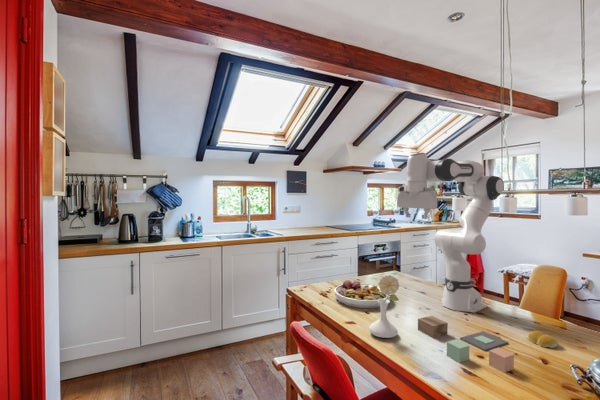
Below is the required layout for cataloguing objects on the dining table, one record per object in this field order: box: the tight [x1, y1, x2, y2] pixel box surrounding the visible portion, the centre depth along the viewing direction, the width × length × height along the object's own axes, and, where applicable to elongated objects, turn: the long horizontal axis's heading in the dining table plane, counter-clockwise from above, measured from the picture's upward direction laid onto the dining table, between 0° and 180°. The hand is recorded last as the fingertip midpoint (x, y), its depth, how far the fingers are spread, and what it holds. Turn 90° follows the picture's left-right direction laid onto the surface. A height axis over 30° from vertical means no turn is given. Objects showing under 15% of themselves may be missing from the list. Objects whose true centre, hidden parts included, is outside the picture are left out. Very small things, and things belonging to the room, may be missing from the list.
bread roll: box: [527, 330, 558, 349], centre depth 118 cm, size 8×9×4 cm
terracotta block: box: [488, 346, 515, 373], centre depth 101 cm, size 5×5×5 cm
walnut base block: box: [417, 315, 449, 339], centre depth 126 cm, size 8×8×5 cm
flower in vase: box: [368, 274, 401, 339], centre depth 123 cm, size 13×11×25 cm
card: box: [459, 331, 509, 352], centre depth 119 cm, size 14×10×1 cm
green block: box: [446, 339, 470, 364], centre depth 107 cm, size 5×5×5 cm
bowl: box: [334, 279, 391, 309], centre depth 165 cm, size 30×30×8 cm
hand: (416, 218), depth 140 cm, fingers open, 8 cm apart
